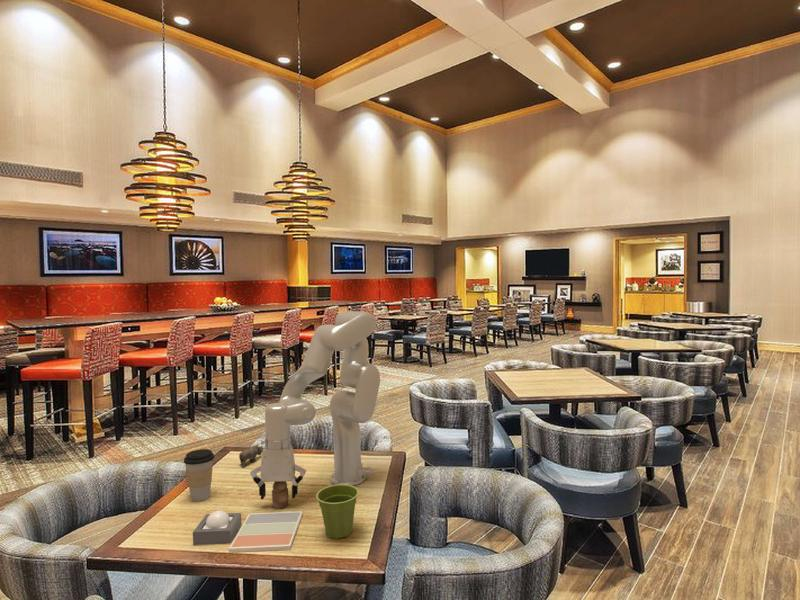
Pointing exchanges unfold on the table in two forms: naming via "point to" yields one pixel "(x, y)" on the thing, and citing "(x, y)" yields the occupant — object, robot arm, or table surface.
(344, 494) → the plant pot
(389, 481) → the table surface
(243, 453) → the rhino figurine
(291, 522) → the game board
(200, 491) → the coffee cup
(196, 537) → the dome base
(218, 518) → the pop dome
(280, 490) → the walnut pawn
